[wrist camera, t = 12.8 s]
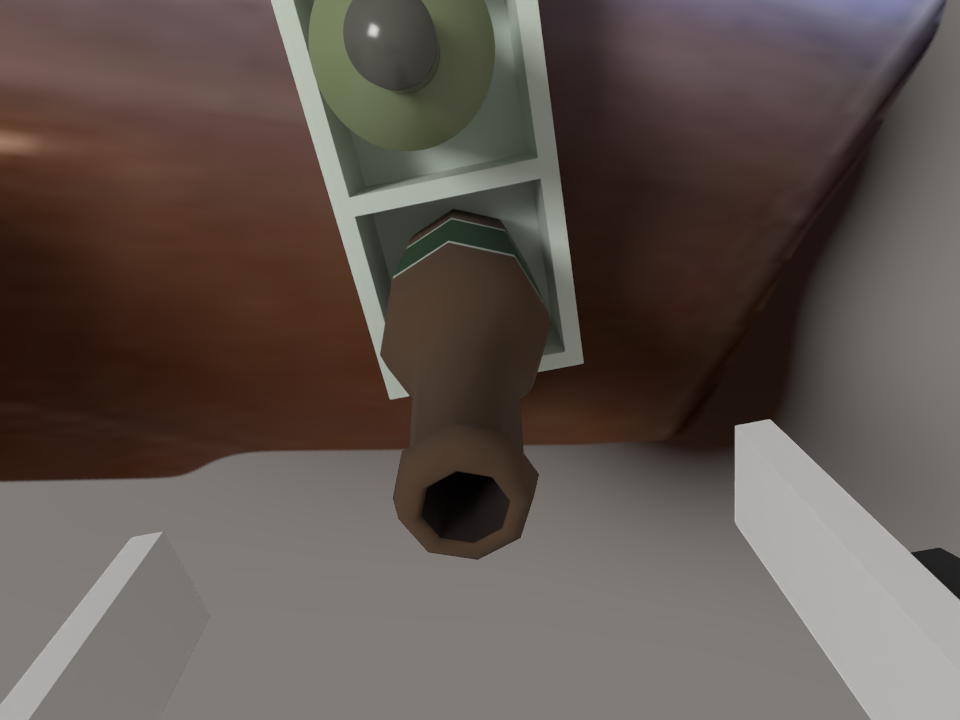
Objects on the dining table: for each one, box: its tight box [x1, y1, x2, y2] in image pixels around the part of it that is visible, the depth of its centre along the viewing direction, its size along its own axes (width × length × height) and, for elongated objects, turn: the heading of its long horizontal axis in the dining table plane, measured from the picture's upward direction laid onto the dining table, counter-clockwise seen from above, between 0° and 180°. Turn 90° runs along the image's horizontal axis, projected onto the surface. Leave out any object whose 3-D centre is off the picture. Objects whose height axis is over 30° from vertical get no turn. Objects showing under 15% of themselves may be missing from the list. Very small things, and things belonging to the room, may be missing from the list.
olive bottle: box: [309, 0, 495, 151], centre depth 23 cm, size 6×6×17 cm
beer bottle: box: [380, 209, 551, 560], centre depth 24 cm, size 8×8×24 cm
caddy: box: [271, 0, 584, 400], centre depth 31 cm, size 12×23×6 cm, turn 11°
